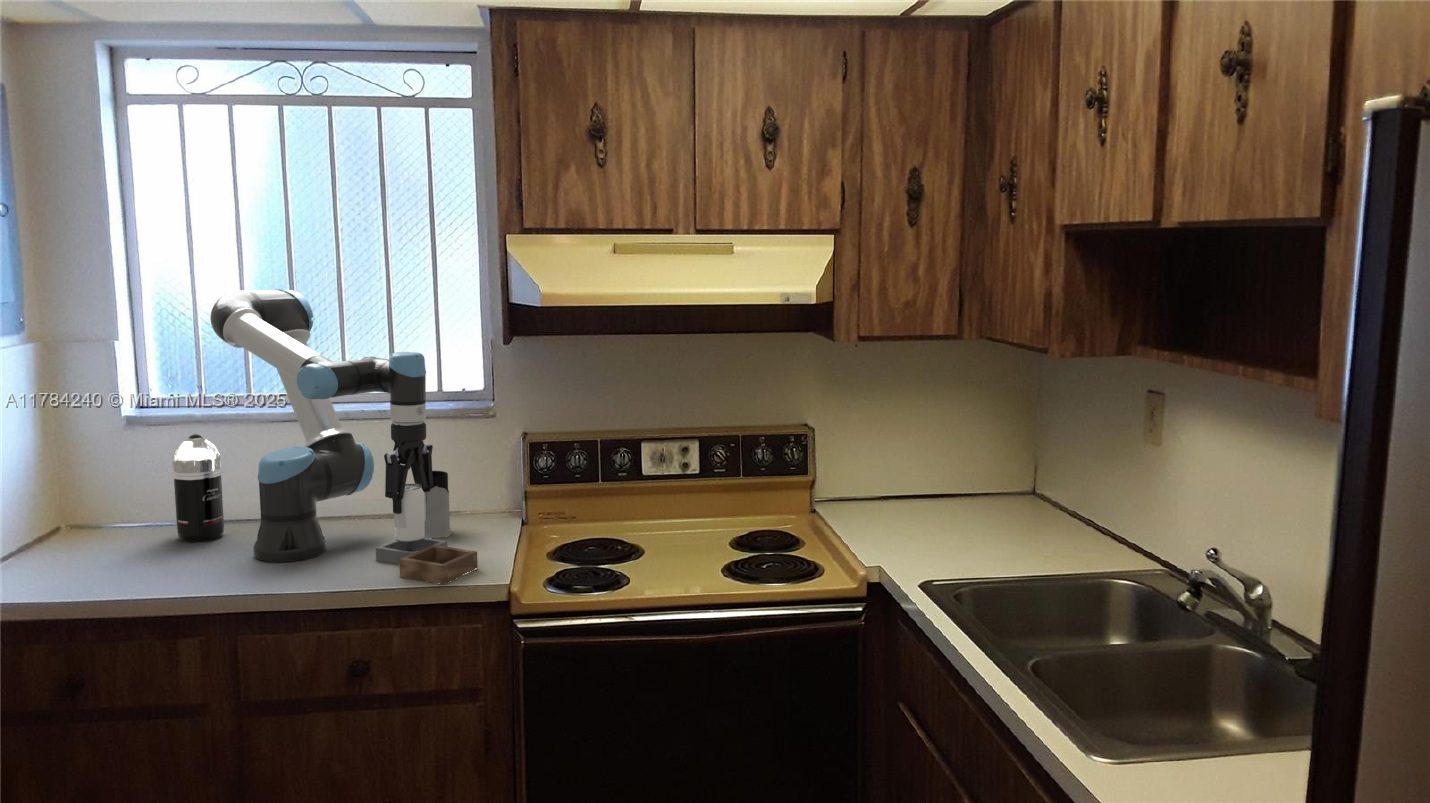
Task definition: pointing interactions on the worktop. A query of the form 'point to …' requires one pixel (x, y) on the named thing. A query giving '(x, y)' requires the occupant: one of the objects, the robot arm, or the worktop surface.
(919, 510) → the worktop surface
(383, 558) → the grey square tray
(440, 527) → the glass holder
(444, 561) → the brown open square box
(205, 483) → the spray bottle
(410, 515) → the can
